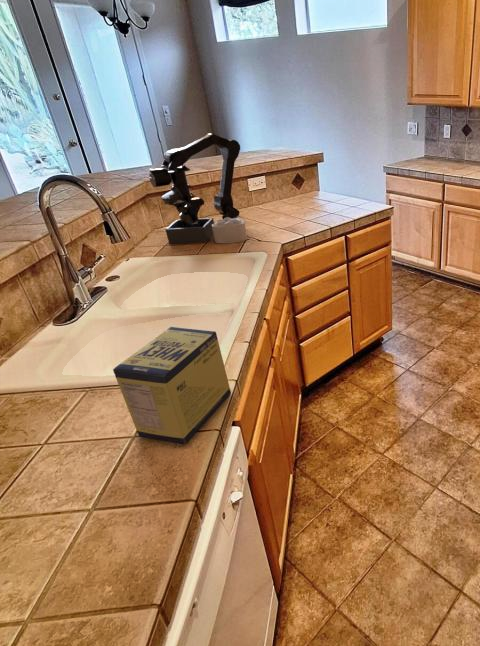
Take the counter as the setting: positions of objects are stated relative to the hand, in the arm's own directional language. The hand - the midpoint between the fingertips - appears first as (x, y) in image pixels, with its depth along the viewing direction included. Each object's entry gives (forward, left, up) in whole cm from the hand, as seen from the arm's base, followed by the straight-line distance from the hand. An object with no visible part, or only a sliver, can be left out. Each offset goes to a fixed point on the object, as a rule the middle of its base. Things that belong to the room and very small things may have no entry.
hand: (189, 220), depth 184 cm
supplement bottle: (-1, 0, -6) cm, 6 cm away
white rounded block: (-17, +5, -8) cm, 19 cm away
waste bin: (0, 0, -8) cm, 8 cm away
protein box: (-33, +120, -8) cm, 125 cm away
